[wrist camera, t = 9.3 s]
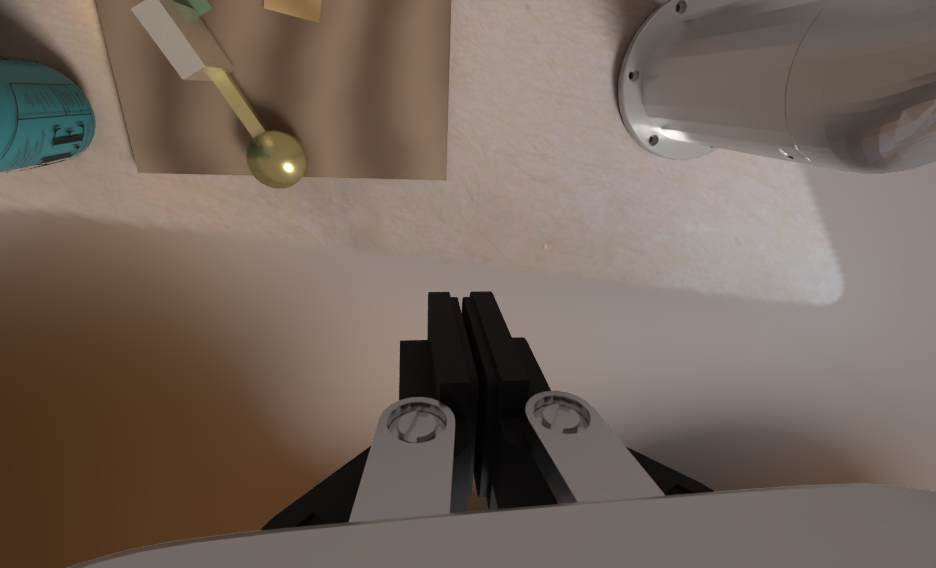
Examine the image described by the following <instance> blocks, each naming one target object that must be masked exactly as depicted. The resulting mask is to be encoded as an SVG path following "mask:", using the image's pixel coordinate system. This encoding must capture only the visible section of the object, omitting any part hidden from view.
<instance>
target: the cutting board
mask: <svg viewBox="0 0 936 568" xmlns="http://www.w3.org/2000/svg"><path fill="white" fill-rule="evenodd" d="M95 1H96V5H97V9H98V13H99V17H100V21H101V25H102V29H103V34H104V38H105V42H106V46H107V50H108V54H109V58H110V62H111V66H112V70H113V74H114V78H115V82H116V86H117V90H118V94H119V98H120V102H121V106H122V110H123V114H124V118H125V122H126V126H127V130H128V134H129V138H130V142H131V146H132V150H133V154H134V158H135V162H136V166H137V171H138V173H172V174H214V175H253V174H252V172H251V171H250V169H249V167H248V164H247V160H246V152H247V148H248V145H249V143H250V142H251V140H252V139H253V137H252V136H251V134H250V133H249V132H248V130H247V129H246V127H245V126H244V125H243V123H242V122H241V120H240V119H239V117H238V116H237V115H236V113H235V112H234V110H233V109H232V108H231V106H230V105H229V103H228V102H227V101H226V99H225V98H224V96H223V95H222V93H221V92H220V91H219V89H218V88H217V86H216V85H215V84H214V82H213V81H198V80H183V79H182V78H181V77H180V75H179V74H178V73H177V71H176V70H175V69H174V67H173V66H172V64H171V63H170V62H169V60H168V59H167V58H166V56H165V55H164V54H163V52H162V51H161V50H160V48H159V47H158V45H157V44H156V43H155V41H154V40H153V39H152V37H151V36H150V35H149V33H148V32H147V31H146V29H145V28H144V26H143V25H142V24H141V22H140V21H139V20H138V18H137V17H136V16H135V14H134V13H133V12H132V10H131V8H133V7H135V6H136V5H138V4H139V3H141V2H143V1H144V0H95ZM174 2H176V3H179V4H182V5H184V6H187V7H190V8H192V9H195V11H196V12H197V14H198V15H199V17H200V18H201V20H202V21H203V23H204V24H205V26H206V27H207V29H208V30H209V31H210V33H211V34H212V36H213V37H214V39H215V40H216V42H217V43H218V45H219V46H220V48H221V49H222V51H223V52H224V54H225V55H226V57H227V58H228V59H229V61H230V62H231V64H232V65H233V67H234V68H235V70H234V71H233V72H231V73H229V75H230V76H231V77H232V79H233V80H234V82H235V83H236V85H237V86H238V88H239V89H240V90H241V92H242V93H243V95H244V96H245V98H246V99H247V101H248V102H249V104H250V105H251V106H252V108H253V109H254V111H255V112H256V114H257V115H258V117H259V118H260V120H261V121H262V122H263V124H264V125H265V127H266V128H267V130H268V131H270V130H280V131H284V132H287V133H289V134H291V135H293V136H294V137H295V138H297V139H298V140H299V141H300V142H301V144H302V145H303V147H304V149H305V151H306V154H307V158H308V166H307V170H306V173H305V174H304V176H303V177H338V178H379V179H420V180H446V167H447V131H448V96H449V60H450V24H451V0H174Z"/></svg>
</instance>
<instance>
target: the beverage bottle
mask: <svg viewBox="0 0 936 568" xmlns="http://www.w3.org/2000/svg"><path fill="white" fill-rule="evenodd" d="M1 57H2V56H1ZM6 58H7V57H6ZM8 58H10V57H8ZM8 58H7V60H4V59H5V57H4V58H1V59H0V172H4V171H9V170H11V171H12V170H13V169H18V168H23V167H26V168H27V167H28V166H32V165H41V163H46V162H51V161H55V160H60V159H65V158H70V157H72V156H74V157H75V155H77V154H79V153H80V152H82V151H83V150H84V149H85V148H86V147H88V146H89V144H90V142H91V141H92V139H93V137H94V133H95V116H94V113H93V110H92V107H91V105H90V103H89V101H88V99H87V98H86V96H85V95H84V93H83V92H82V91H81V90H80V88H79V87H78V86H77V85H76V84H75V83H73V82H72V81H71V80H70V79H69V78H67V77H66V76H64V75H63V74H61V73H59V72H58V71H56V70H53V69H51V68H49V67H47V66H44V65H41V64H38V63H34V62H30V61H20V60H8ZM11 58H12V57H11ZM13 59H14V58H13ZM15 59H16V58H15ZM18 59H19V58H18ZM22 60H23V58H22ZM24 60H25V59H24ZM30 60H31V59H30ZM34 61H35V60H34ZM37 62H38V61H37ZM85 150H86V149H85ZM85 150H84V151H85ZM84 151H83V152H84ZM83 152H82V153H83ZM82 153H81V154H82ZM78 156H79V155H78ZM65 160H66V159H65ZM70 160H71V159H70ZM62 161H64V160H62ZM59 162H61V161H59ZM55 163H57V162H55ZM51 164H53V163H51ZM45 165H49V164H45ZM45 165H42V166H45ZM38 167H41V166H38ZM34 168H36V167H34ZM24 169H25V168H24ZM30 169H32V168H30ZM22 170H23V169H22ZM22 170H21V171H22ZM26 170H27V169H26ZM6 173H7V172H6Z"/></svg>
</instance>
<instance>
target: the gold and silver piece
mask: <svg viewBox="0 0 936 568" xmlns="http://www.w3.org/2000/svg"><path fill="white" fill-rule="evenodd" d="M131 10H132V12H133V13H134V14H135V16H136V17H137V18H138V20H139V21H140V22H141V24H142V25H143V26H144V28H145V29H146V31H147V32H148V33H149V35H150V36H151V37H152V39H153V40H154V41H155V43H156V44H157V45H158V47H159V48H160V50H161V51H162V52H163V54H164V55H165V56H166V58H167V59H168V60H169V62H170V63H171V64H172V66H173V67H174V69H175V70H176V71H177V73H178V74H179V75H180V77H181V78H182V79H183V80H198V81H213V82H214V84H215V85H216V86H217V88H218V89H219V91H220V92H221V93H222V95H223V96H224V98H225V99H226V101H227V102H228V103H229V105H230V106H231V108H232V109H233V110H234V112H235V113H236V115H237V116H238V117H239V119H240V120H241V122H242V123H243V125H244V126H245V127H246V129H247V130H248V132H249V133H250V134H251V136H252V137H253V139H252V140H251V142H250V143H249V145H248V148H247V152H246V160H247V164H248V167H249V169H250V171H251V172H252V174H253V175H254V176H255V178H256V179H258V180H259V181H260V182H261V183H263V184H265V185H267V186H269V187H272V188H287V187H290V186H292V185H294V184H296V183H297V182H298V181H299V180H300V179H301V178H302V177H303V176H304V174H305V173H306V170H307V166H308V158H307V154H306V151H305V149H304V147H303V145H302V144H301V142H300V141H299V140H298V139H297V138H295V137H294V136H293V135H291V134H289V133H287V132H284V131H280V130H270V131H268V130H267V128H266V127H265V125H264V124H263V122H262V121H261V120H260V118H259V117H258V115H257V114H256V112H255V111H254V109H253V108H252V106H251V105H250V104H249V102H248V101H247V99H246V98H245V96H244V95H243V93H242V92H241V90H240V89H239V88H238V86H237V85H236V83H235V82H234V80H233V79H232V77H231V76H230V75H229V73H231V72H233V71H234V70H235V68H234V67H233V65H232V64H231V62H230V61H229V59H228V58H227V57H226V55H225V54H224V52H223V51H222V49H221V48H220V46H219V45H218V43H217V42H216V40H215V39H214V37H213V36H212V34H211V33H210V31H209V30H208V29H207V27H206V26H205V24H204V23H203V21H202V20H201V18H200V17H199V15H198V14H197V12H196V11H195V9H192V8H190V7H187V6H184V5H182V4H179V3H176V2H174V0H144V1H143V2H141V3H139V4H138V5H136V6H135V7H133V8H131Z"/></svg>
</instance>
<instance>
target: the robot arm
mask: <svg viewBox="0 0 936 568" xmlns="http://www.w3.org/2000/svg"><path fill="white" fill-rule="evenodd" d="M676 7H677V11H676ZM629 73H631V78H630V79H629ZM618 99H619V107H620V112H621V115H622V119H623V122H624V125H625V126H626V128H627V130H628V132H629V133H630V135H631V137H632V138H633V139H634V140H635V141H636V142H637V143H638V144H639V145H640V146H641V147H642V148H644V149H645V150H647V151H648V152H650V153H652V154H655V155H657V156H660V157H664V158H668V159H672V160H688V159H694V158H699V157H702V156H704V155H707V154H710V153H712V152H714V151H716V150H717V149H719V148H721V149H727V150H732V151H738V152H743V153H748V154H754V155H759V156H765V157H770V158H775V159H781V160H786V161H791V162H797V163H802V164H808V165H813V166H818V167H824V168H829V169H834V170H840V171H845V172H852V173H861V174H884V173H892V172H898V171H904V170H909V169H913V168H916V167H920V166H923V165H926V164H928V163H932V162H934V161H936V0H668V1H667V2H665V3H664V4H662V5H661V6H660V7H658V8H657V9H656V10H655V11H654V12H653V13H652V14H651V15H650V16H649V17H648V18H647V19H646V20H645V22H644V23H643V24H642V25H641V27H640V28H639V29H638V30H637V32H636V34H635V35H634V37H633V39H632V41H631V43H630V44H629V46H628V49H627V51H626V54H625V57H624V59H623V62H622V66H621V71H620V76H619V84H618ZM649 138H650V141H649ZM399 385H400V386H399V401H397V402H395V403H393V404H391V405H390V406H389V407H388V408H386V409H385V410H384V411H383V413H382V415H381V417H380V418H379V421H378V425H377V428H376V431H375V435H374V438H373V441H372V445H371V446H370V447H369V448H367V449H366V450H365V451H363V452H362V453H361V454H359V455H358V456H356V457H355V458H354V459H352V460H351V461H350V462H348V463H347V464H345V465H344V466H343V467H341V468H340V469H339V470H337V471H336V472H335V473H333V474H332V475H331V476H329V477H328V478H327V479H325V480H324V481H323V482H321V483H320V484H318V485H317V486H315V487H314V488H313V489H311V490H310V491H309V492H307V493H306V494H305V495H303V496H302V497H300V498H299V499H298V500H296V501H295V502H294V503H292V504H291V505H290V506H288V507H287V508H286V509H284V510H283V511H281V512H280V513H279V514H277V515H276V516H274V518H273V519H271V520H270V521H269V522H268V523H267V524H266V525H265V526H264V527H263V528H262V529H261V530H259V531H250V532H242V533H241V532H238V533H234V534H226V535H218V536H211V537H202V538H195V539H187V540H178V541H172V542H166V543H161V544H156V545H151V546H146V547H140V548H136V549H130V550H126V551H123V552H119V553H115V554H111V555H108V556H104V557H101V558H97V559H93V560H90V561H86V562H83V563H79V564H76V565H73V566H71V567H68V568H936V491H931V490H926V489H919V488H911V487H903V486H894V485H881V484H834V485H833V484H831V485H806V486H786V487H774V488H760V489H745V490H731V491H718V492H714V491H713V490H712V489H710V488H708V487H706V486H705V485H703V484H701V483H700V482H698V481H696V480H694V479H691V478H689V477H687V476H685V475H683V474H681V473H679V472H677V471H675V470H673V469H671V468H669V467H667V466H664V465H663V464H660V463H658V462H656V461H654V460H652V459H650V458H648V457H646V456H644V455H642V454H640V453H638V452H636V451H634V450H632V449H630V448H628V447H625V446H624V444H623V443H622V442H621V441H620V439H619V438H618V437H617V436H616V435H615V434H614V432H613V431H612V430H611V429H610V427H609V426H608V425H607V424H606V422H605V421H604V420H603V419H602V418H601V417H600V415H599V414H598V413H597V411H596V410H595V409H594V408H593V407H592V406H591V405H590V404H589V403H588V402H586V401H585V400H583V399H581V398H580V397H578V396H575V395H573V394H570V393H567V392H560V391H551V390H550V388H549V386H548V384H547V381H546V379H545V377H544V375H543V373H542V371H541V369H540V367H539V365H538V363H537V361H536V359H535V357H534V355H533V353H532V351H531V349H530V347H529V345H528V343H527V341H526V339H525V338H523V337H521V338H512V337H511V335H510V333H509V330H508V328H507V325H506V323H505V321H504V319H503V317H502V314H501V312H500V309H499V307H498V305H497V302H496V300H495V298H494V296H493V293H492V292H471V293H470V297H463V301H462V313H461V309H460V306H459V302H458V298H457V297H450V293H449V292H429V294H428V340H410V341H400V384H399ZM473 473H474V479H475V484H476V490H477V494H478V497H484V496H486V498H487V503H488V508H489V510H483V511H470V512H466V511H467V504H468V498H470V497H471V495H472V482H473Z"/></svg>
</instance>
